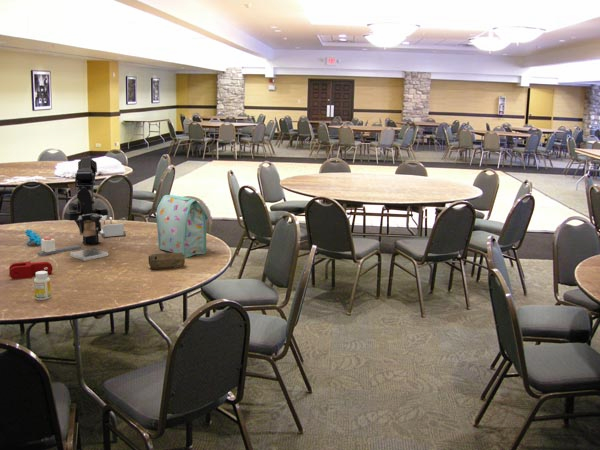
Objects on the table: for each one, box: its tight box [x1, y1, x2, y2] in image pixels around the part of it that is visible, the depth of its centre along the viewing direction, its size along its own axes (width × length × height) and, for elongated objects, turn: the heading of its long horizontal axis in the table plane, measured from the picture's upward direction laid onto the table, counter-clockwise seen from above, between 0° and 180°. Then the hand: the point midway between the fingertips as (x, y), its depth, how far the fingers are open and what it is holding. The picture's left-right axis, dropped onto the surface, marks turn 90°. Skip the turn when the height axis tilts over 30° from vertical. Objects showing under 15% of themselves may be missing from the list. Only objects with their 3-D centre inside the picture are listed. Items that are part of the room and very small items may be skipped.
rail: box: [36, 244, 82, 257], centre depth 281 cm, size 20×3×1 cm, turn 139°
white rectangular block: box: [40, 236, 56, 252], centre depth 276 cm, size 4×4×6 cm
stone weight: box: [148, 252, 186, 270], centre depth 259 cm, size 15×7×7 cm, turn 120°
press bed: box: [69, 247, 109, 262], centre depth 275 cm, size 12×12×2 cm
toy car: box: [97, 214, 127, 239], centre depth 317 cm, size 18×10×12 cm
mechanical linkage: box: [8, 261, 54, 280], centre depth 244 cm, size 16×7×5 cm, turn 116°
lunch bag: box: [155, 194, 209, 259], centre depth 284 cm, size 23×16×27 cm
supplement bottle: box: [33, 271, 52, 301], centre depth 217 cm, size 5×5×10 cm
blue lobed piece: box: [24, 228, 42, 246], centre depth 292 cm, size 11×6×10 cm
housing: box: [78, 220, 96, 237], centre depth 272 cm, size 5×5×7 cm
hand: (87, 232), depth 273 cm, fingers closed on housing, 5 cm apart
